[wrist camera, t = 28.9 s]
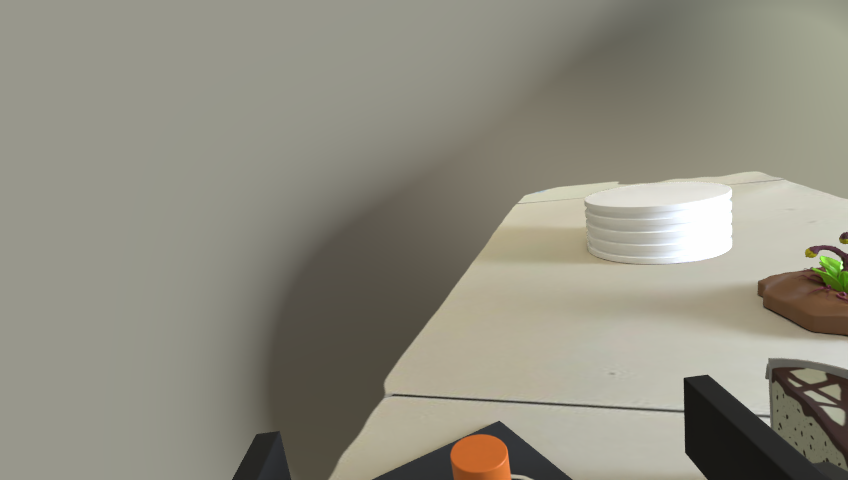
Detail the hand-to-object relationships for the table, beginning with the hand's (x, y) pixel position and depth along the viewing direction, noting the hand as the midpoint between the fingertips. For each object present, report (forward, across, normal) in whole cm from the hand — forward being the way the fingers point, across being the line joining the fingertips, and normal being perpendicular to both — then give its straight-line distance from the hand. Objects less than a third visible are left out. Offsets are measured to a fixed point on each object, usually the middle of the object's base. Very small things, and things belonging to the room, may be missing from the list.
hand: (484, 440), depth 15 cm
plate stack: (+87, +47, -22) cm, 101 cm away
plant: (+46, +54, -21) cm, 74 cm away
